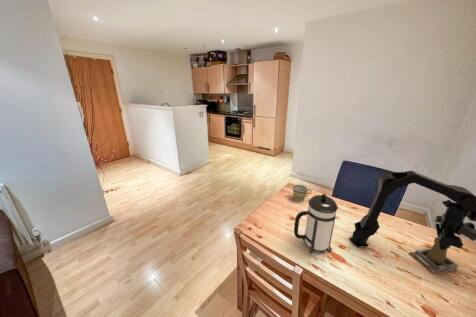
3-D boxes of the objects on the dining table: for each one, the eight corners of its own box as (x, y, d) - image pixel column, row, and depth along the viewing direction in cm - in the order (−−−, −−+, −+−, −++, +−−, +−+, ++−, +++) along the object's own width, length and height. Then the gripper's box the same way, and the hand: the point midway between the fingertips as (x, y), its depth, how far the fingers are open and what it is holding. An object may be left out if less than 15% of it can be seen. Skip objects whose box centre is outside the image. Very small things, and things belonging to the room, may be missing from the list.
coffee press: (307, 229, 113) (314, 183, 103) (336, 244, 103) (347, 194, 92) (291, 246, 102) (296, 195, 92) (322, 264, 91) (332, 209, 81)
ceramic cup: (292, 203, 139) (293, 190, 136) (290, 195, 148) (292, 184, 145) (311, 204, 137) (313, 192, 133) (309, 197, 146) (310, 185, 143)
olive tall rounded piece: (448, 265, 88) (457, 245, 84) (432, 262, 89) (440, 243, 85) (438, 254, 93) (446, 235, 89) (423, 252, 94) (431, 233, 91)
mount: (431, 273, 86) (433, 268, 85) (408, 253, 97) (410, 249, 96) (455, 270, 88) (458, 265, 87) (430, 251, 98) (432, 246, 97)
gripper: (490, 237, 71) (472, 269, 77) (476, 213, 85) (462, 241, 91) (447, 225, 78) (433, 255, 83) (440, 204, 92) (429, 231, 97)
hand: (440, 245), depth 88 cm, fingers closed on olive tall rounded piece, 5 cm apart
